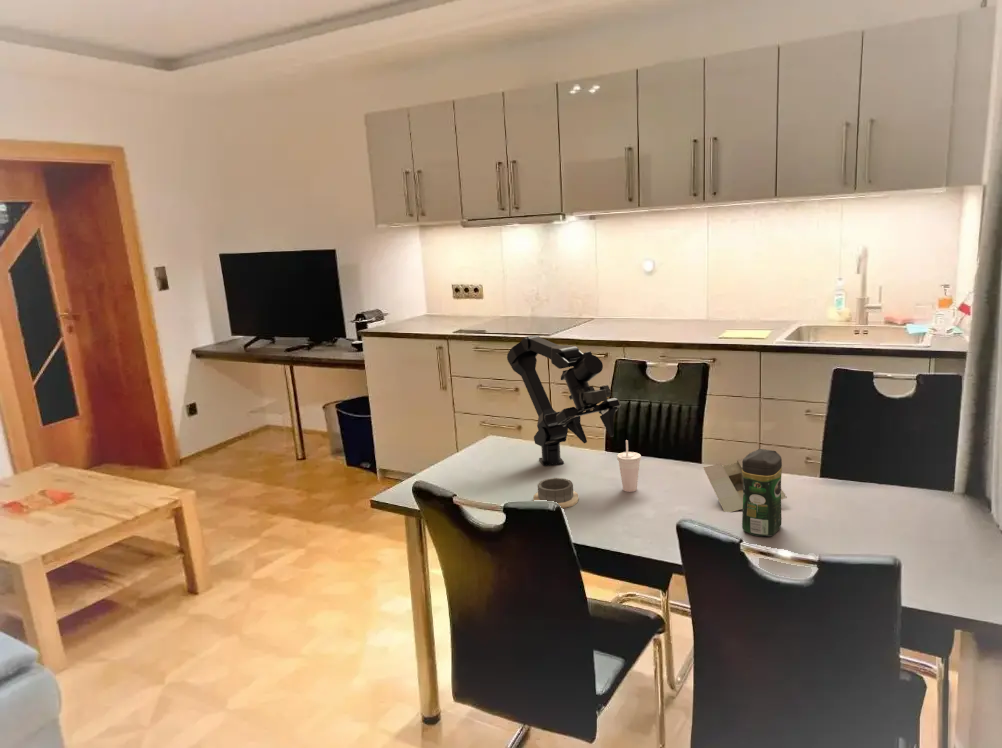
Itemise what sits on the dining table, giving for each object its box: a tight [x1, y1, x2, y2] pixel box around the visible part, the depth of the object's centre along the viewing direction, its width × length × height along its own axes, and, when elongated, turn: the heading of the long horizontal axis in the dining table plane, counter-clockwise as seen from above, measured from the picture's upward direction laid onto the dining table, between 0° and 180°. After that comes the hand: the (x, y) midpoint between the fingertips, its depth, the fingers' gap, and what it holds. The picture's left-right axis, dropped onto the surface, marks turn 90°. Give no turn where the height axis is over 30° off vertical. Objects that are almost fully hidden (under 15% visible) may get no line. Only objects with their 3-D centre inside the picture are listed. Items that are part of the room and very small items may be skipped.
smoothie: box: [616, 439, 642, 493], centre depth 192 cm, size 6×6×14 cm
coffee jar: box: [741, 448, 783, 537], centre depth 163 cm, size 10×8×19 cm
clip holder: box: [532, 477, 580, 509], centre depth 189 cm, size 12×12×4 cm
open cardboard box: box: [702, 457, 788, 513], centre depth 183 cm, size 16×9×15 cm
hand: (599, 439), depth 196 cm, fingers open, 9 cm apart
